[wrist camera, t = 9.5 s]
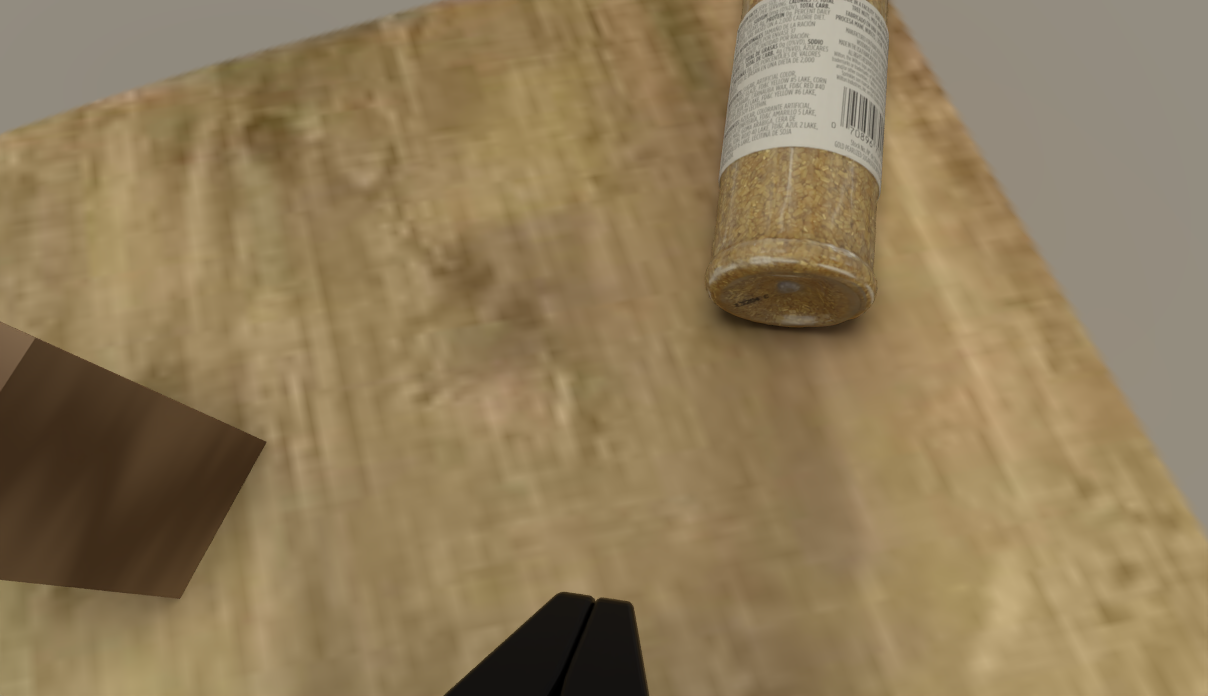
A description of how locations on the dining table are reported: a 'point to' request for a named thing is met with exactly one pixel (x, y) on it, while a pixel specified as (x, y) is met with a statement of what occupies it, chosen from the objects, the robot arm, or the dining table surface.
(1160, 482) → the dining table surface
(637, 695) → the robot arm
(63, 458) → the walnut block
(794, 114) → the sprinkles bottle
